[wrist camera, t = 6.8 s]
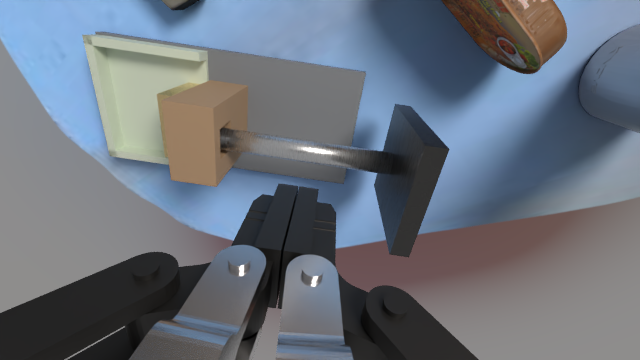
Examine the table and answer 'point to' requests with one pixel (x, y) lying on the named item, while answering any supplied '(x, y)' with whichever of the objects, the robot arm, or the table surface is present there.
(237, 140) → the shaft
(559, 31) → the tin
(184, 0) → the infrared thermometer
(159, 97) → the spacer
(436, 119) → the table surface
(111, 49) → the shaft rig
